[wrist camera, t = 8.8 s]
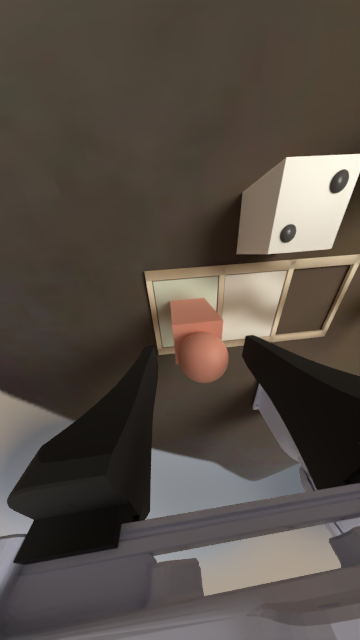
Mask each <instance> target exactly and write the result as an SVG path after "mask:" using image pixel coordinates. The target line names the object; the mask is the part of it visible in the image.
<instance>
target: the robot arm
mask: <svg viewBox="0 0 360 640" xmlns="http://www.w3.org/2000/svg"><path fill="white" fill-rule="evenodd" d="M242 357H243V359H244V361H245V363H246V365H247V366H248V368H249V370H250V371H251V372H252V374H253V375H254V377H255V378H256V380H257V381H258V382H259V386H258V389H257V393H256V396H255V400H254V403H253V409H254V410H257V409H259V411H260V413H261V414H262V416H263V418H264V420H265V421H266V423H267V425H268V426H269V428H270V430H271V431H272V433H273V435H274V436H275V438H276V440H277V441H278V443H279V444H280V446H281V447H282V449H283V450H284V451H285V452H286V453H287V454H288V455H289V456H291V457H292V458H293V459H295V460H296V461H298V462H300V464H301V465H302V467H300V478H301V482H302V485H303V487H304V489H305V493H299V494H293V495H287V496H281V497H276V498H270V499H264V500H259V501H253V502H247V503H241V504H235V505H229V506H223V507H218V508H212V509H206V510H201V511H195V512H189V513H183V514H177V515H172V516H166V517H160V518H154V519H148V520H145V519H146V517H147V516H148V514H149V512H150V479H151V445H152V422H153V409H154V402H155V394H156V387H157V379H158V363H157V358H156V353H155V347H154V346H146V347H145V349H144V350H143V352H142V353H141V355H140V356H139V357H138V359H137V360H136V362H135V363H134V364H133V366H132V367H131V368H130V369H129V371H128V372H127V373H126V374H125V376H124V377H123V378H122V379H121V380H120V381H119V382H118V384H117V385H116V386H115V387H114V388H113V389H112V390H111V391H110V392H109V393H108V394H107V395H106V396H104V397H103V398H102V399H101V400H100V401H99V402H98V403H97V404H96V405H95V406H93V407H92V408H91V409H90V410H89V411H88V412H86V413H85V414H84V415H83V416H81V417H80V418H79V419H78V420H76V421H75V422H74V423H73V424H71V425H70V426H69V427H68V428H66V429H65V430H63V431H62V432H61V433H59V434H58V435H56V436H55V437H54V438H52V439H51V440H50V441H48V442H47V443H46V444H44V445H43V446H42V447H41V448H40V449H39V451H38V452H37V454H36V455H35V457H34V458H33V460H32V461H31V463H30V464H29V466H28V467H27V469H26V470H25V472H24V473H23V475H22V477H21V478H20V480H19V481H18V483H17V484H16V486H15V487H14V489H13V490H12V492H11V493H10V495H9V497H8V499H7V503H8V506H9V507H10V508H11V509H13V510H14V511H16V512H18V513H21V514H23V515H25V516H27V517H29V518H31V519H34V521H33V524H32V525H31V527H30V530H29V531H28V533H27V534H14V535H8V536H2V537H0V640H360V376H357V375H353V374H350V373H346V372H343V371H340V370H337V369H334V368H331V367H328V366H325V365H322V364H319V363H316V362H314V361H311V360H308V359H306V358H303V357H301V356H299V355H296V354H294V353H291V352H289V351H287V350H285V349H283V348H280V347H278V346H276V345H274V344H272V343H270V342H268V341H266V340H264V339H261V338H259V337H257V336H254V335H248V336H245V342H244V348H243V353H242ZM322 524H325V526H326V527H327V529H328V530H329V531H330V533H331V534H332V536H333V537H332V538H330V539H329V543H330V545H331V547H332V548H333V550H334V552H335V554H336V555H337V557H338V559H339V561H340V563H341V568H339V569H335V570H330V571H325V572H320V573H316V574H310V575H306V576H300V577H296V578H291V579H286V580H281V581H276V582H271V583H266V584H262V585H257V586H252V587H247V588H242V589H237V590H232V591H228V592H223V593H218V594H213V595H208V596H204V593H203V588H202V578H201V569H200V566H199V562H198V560H197V559H196V558H192V559H182V560H173V561H164V562H159V563H157V561H156V559H155V558H154V557H153V556H156V555H161V554H167V553H172V552H177V551H183V550H188V549H193V548H199V547H204V546H209V545H214V544H219V543H225V542H231V541H236V540H241V539H247V538H252V537H257V536H263V535H268V534H274V533H278V532H284V531H290V530H294V529H300V528H305V527H311V526H316V525H322Z"/></svg>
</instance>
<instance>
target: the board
mask: <svg viewBox="0 0 360 640" xmlns="http://www.w3.org/2000/svg"><path fill="white" fill-rule="evenodd" d="M359 263H360V254H357V255H344V256H331V257H319V258H306V259H294V260H281V261H268V262H256V263H243V264H230V265H218V266H205V267H192V268H180V269H167V270H154V271H144V272H145V278H146V284H147V290H148V296H149V301H150V307H151V313H152V319H153V325H154V330H155V336H156V342H157V348H158V354H159V355H162V354H171V353H175V349H174V339H173V329H172V318H171V306H170V301H174V300H185V299H196V298H205V299H206V301H207V302H208V303H209V304H210V305H211V306H212V308H213V309H214V310H215V311H216V309H217V313H218V314H219V316H220V317H221V318H222V319H223V331H222V342H223V343H224V344H225V346H226V347H233V346H242V345H244V342H245V336H248V335H254V336H257V337H259V338H261V339H264V340H266V341H268V342H277V341H286V340H295V339H304V338H312V337H321V336H325V334H326V332H327V330H328V327H329V325H330V323H331V321H332V319H333V317H334V315H335V313H336V311H337V309H338V307H339V305H340V303H341V300H342V298H343V296H344V294H345V292H346V290H347V288H348V286H349V284H350V282H351V280H352V278H353V276H354V274H355V271H356V269H357V267H358V265H359ZM350 264H351V266H350V268H349V270H348V272H347V274H346V277H345V279H344V281H343V283H342V285H341V288H340V290H339V292H338V294H337V296H336V298H335V301H334V303H333V305H332V307H331V309H330V311H329V314H328V316H327V318H326V320H325V322H324V325H323V327H322V329H321V330H315V331H305V332H296V333H287V334H278V335H275V333H276V330H277V326H278V323H279V319H280V316H281V312H282V309H283V306H284V302H285V299H286V295H287V292H288V288H289V285H290V281H291V278H292V274H293V271H294V269H302V268H314V267H326V266H338V265H350ZM278 270H284V271H278ZM266 271H272V272H266ZM254 272H260V273H254ZM242 273H248V274H242ZM230 274H236V275H230ZM218 275H219V278H218ZM206 276H212V277H206ZM194 277H200V278H194ZM182 278H188V279H182ZM170 279H176V280H170ZM158 280H164V281H158ZM152 281H153V284H152ZM153 286H154V290H153ZM217 291H218V295H217ZM154 292H155V297H154ZM155 299H156V303H155ZM156 305H157V310H156ZM157 312H158V316H157ZM158 319H159V323H158ZM159 325H160V329H159ZM160 332H161V336H160ZM161 339H162V343H161ZM162 345H163V347H162Z"/></svg>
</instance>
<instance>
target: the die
mask: <svg viewBox="0 0 360 640" xmlns="http://www.w3.org/2000/svg"><path fill="white" fill-rule="evenodd" d="M359 173H360V154H348V155H326V156H304V157H286V158H285V159H284V160H282V161H281V162H280V163H279V164H277V165H276V166H275V167H274V168H272V169H271V170H270V171H269V172H267V173H266V174H265V175H264V176H262V177H261V178H260V179H259V180H257V181H256V182H255V183H254V184H252V185H251V186H250V187H249V188H247V189H246V190H245V191H244V192H243V194H242V204H241V214H240V224H239V233H238V243H237V253H236V254H276V253H288V252H299V251H311V250H323V249H331V248H332V245H333V242H334V240H335V237H336V234H337V232H338V229H339V226H340V224H341V221H342V218H343V216H344V213H345V210H346V208H347V205H348V202H349V200H350V197H351V194H352V192H353V189H354V186H355V184H356V181H357V178H358V176H359Z"/></svg>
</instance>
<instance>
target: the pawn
mask: <svg viewBox="0 0 360 640" xmlns="http://www.w3.org/2000/svg"><path fill="white" fill-rule="evenodd" d="M170 306H171V318H172V329H173V339H174V349H175V358H176V365H177V364H179V365H180V367H181V369H182V371H183V372H184V373H185V375H186V376H187V377H189V378H190V379H192V380H194V381H196V382H200V383H209V382H213V381H215V380H217V379H218V378H220V377H221V376H222V375H223V373H224V372H225V370H226V368H227V365H228V351H227V348H226V346H225V344H224V343H223V342H222V331H223V319H222V318H221V317H220V316H219V314H218V313H217V312H216V311H215V310H214V309H213V308H212V306H211V305H210V304H209V303H208V302H207V301H206V299H205V298H196V299H185V300H174V301H170Z"/></svg>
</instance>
